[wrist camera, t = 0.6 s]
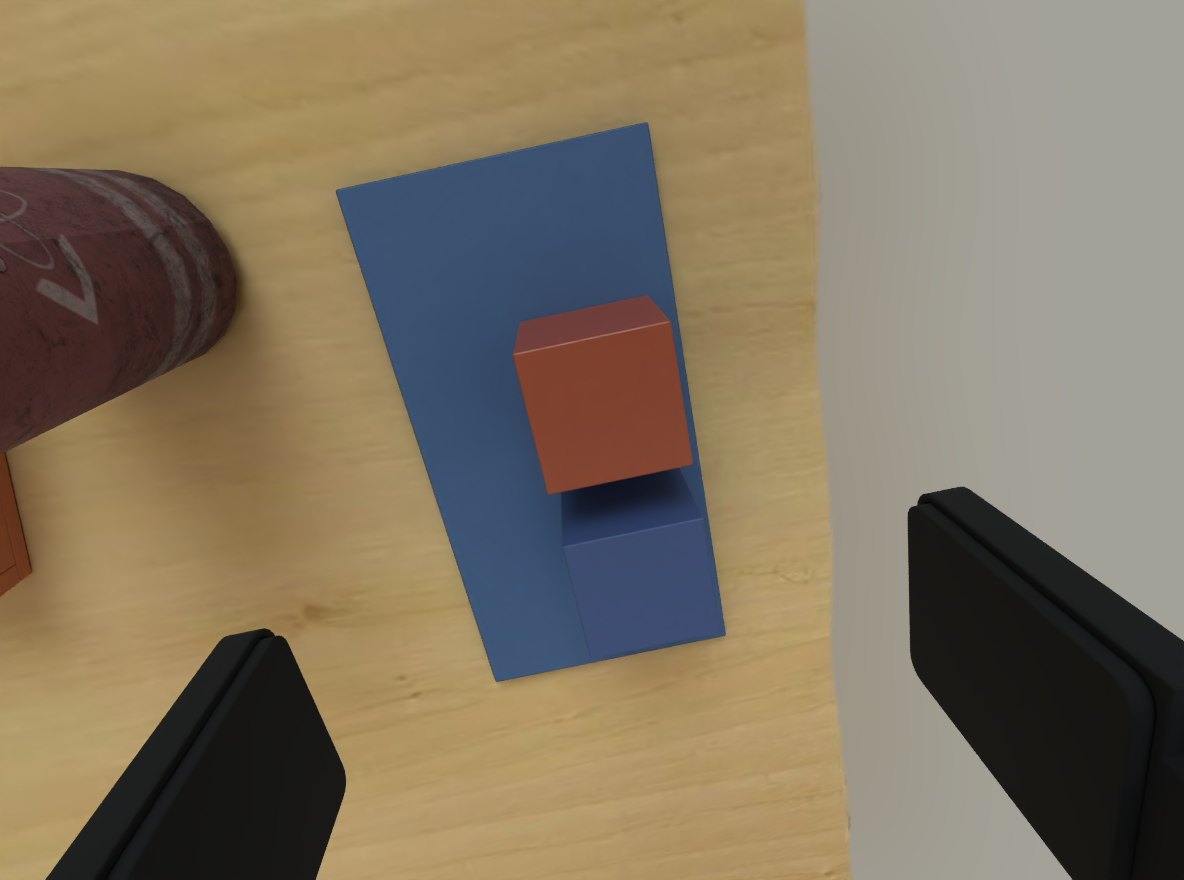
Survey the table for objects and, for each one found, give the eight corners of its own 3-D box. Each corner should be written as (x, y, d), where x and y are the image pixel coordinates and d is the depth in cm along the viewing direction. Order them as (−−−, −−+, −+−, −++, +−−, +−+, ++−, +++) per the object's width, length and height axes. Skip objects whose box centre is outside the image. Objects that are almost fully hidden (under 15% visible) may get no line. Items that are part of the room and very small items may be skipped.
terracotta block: (518, 321, 22) (511, 353, 18) (648, 294, 22) (671, 319, 18) (548, 441, 24) (547, 496, 20) (668, 416, 24) (693, 465, 20)
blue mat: (339, 189, 21) (334, 190, 20) (645, 123, 21) (648, 121, 20) (496, 674, 28) (495, 682, 28) (723, 628, 28) (726, 636, 28)
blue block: (560, 485, 25) (561, 547, 20) (677, 460, 24) (703, 518, 20) (584, 583, 26) (590, 659, 22) (694, 561, 26) (721, 633, 22)
